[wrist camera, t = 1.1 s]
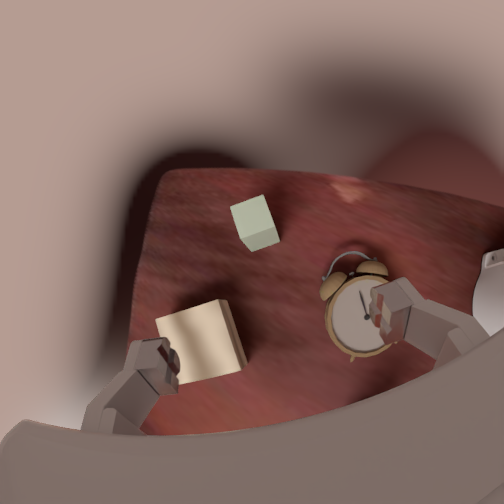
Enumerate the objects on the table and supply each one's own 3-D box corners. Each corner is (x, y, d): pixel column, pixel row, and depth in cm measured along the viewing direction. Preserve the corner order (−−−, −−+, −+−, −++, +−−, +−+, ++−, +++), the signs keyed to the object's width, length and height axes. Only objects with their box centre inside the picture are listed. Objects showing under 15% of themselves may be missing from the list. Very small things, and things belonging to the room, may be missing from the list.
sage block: (270, 214, 42) (263, 194, 34) (280, 241, 41) (275, 226, 33) (242, 225, 42) (230, 206, 35) (251, 251, 41) (240, 238, 34)
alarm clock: (340, 370, 33) (308, 266, 34) (334, 358, 38) (305, 265, 39) (412, 340, 32) (386, 238, 33) (399, 332, 37) (375, 240, 38)
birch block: (227, 300, 41) (217, 299, 36) (248, 363, 38) (241, 370, 34) (170, 318, 42) (155, 319, 37) (189, 377, 39) (175, 385, 35)
